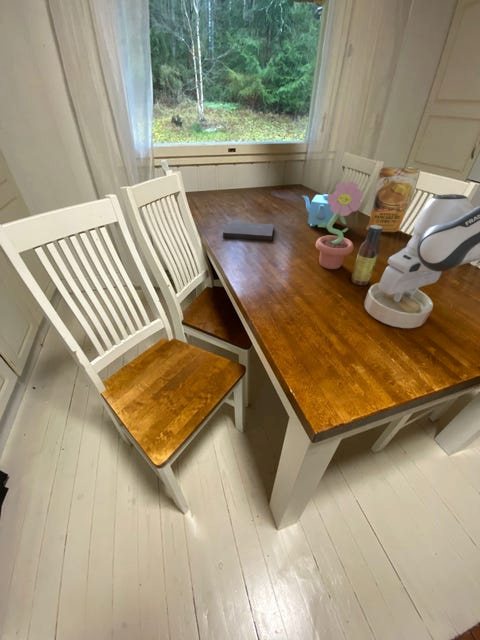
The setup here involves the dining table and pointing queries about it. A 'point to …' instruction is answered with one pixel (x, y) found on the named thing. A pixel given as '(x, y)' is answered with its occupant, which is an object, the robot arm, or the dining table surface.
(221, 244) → the dining table surface
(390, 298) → the beige rectangular block
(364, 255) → the sauce bottle
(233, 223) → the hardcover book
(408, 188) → the pancake mix bag
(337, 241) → the decorative flower
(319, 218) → the teakettle
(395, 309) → the bowl
